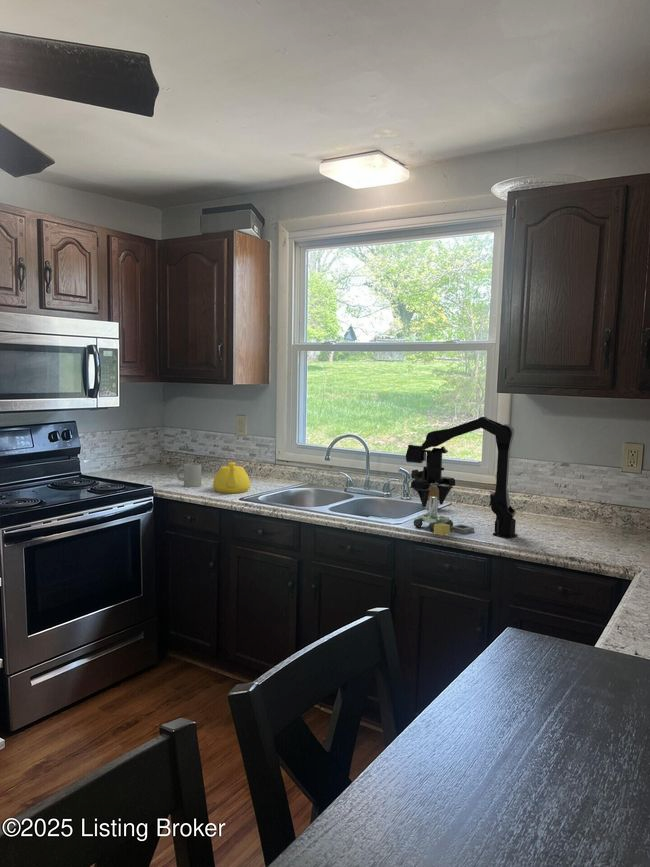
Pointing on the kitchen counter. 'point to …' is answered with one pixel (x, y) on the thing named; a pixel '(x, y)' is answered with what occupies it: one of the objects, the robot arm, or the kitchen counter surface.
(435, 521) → the trolley
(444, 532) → the block
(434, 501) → the pin
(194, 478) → the mug
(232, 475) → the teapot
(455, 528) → the socket
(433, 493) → the coffee cup
